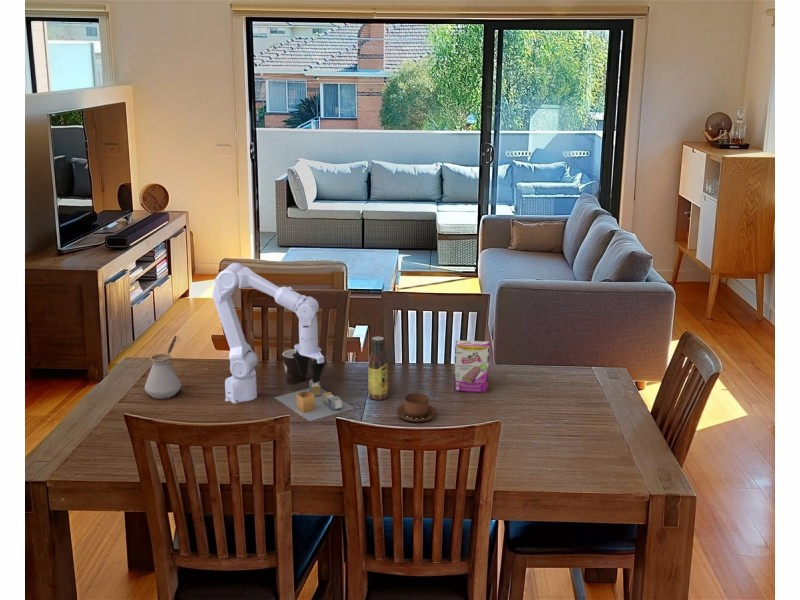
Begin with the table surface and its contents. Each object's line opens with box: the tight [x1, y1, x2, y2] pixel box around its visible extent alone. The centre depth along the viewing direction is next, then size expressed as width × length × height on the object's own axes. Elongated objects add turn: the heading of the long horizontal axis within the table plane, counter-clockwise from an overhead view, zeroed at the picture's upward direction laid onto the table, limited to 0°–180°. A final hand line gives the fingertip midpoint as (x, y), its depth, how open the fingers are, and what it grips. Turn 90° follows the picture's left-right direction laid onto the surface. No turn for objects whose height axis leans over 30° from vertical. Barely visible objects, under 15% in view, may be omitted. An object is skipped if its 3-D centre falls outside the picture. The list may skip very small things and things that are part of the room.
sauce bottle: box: [367, 335, 389, 401], centre depth 280 cm, size 7×6×20 cm
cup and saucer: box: [396, 393, 437, 423], centre depth 268 cm, size 12×12×6 cm
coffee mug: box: [282, 348, 308, 385], centre depth 295 cm, size 12×9×10 cm
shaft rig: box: [308, 379, 343, 411], centre depth 276 cm, size 6×20×4 cm, turn 36°
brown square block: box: [296, 391, 315, 413], centre depth 269 cm, size 4×4×5 cm
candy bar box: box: [453, 339, 491, 394], centre depth 286 cm, size 11×5×16 cm, turn 84°
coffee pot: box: [144, 335, 182, 400], centre depth 287 cm, size 21×12×15 cm, turn 174°
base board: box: [274, 387, 355, 422], centre depth 274 cm, size 16×22×2 cm
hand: (309, 378), depth 274 cm, fingers open, 7 cm apart
